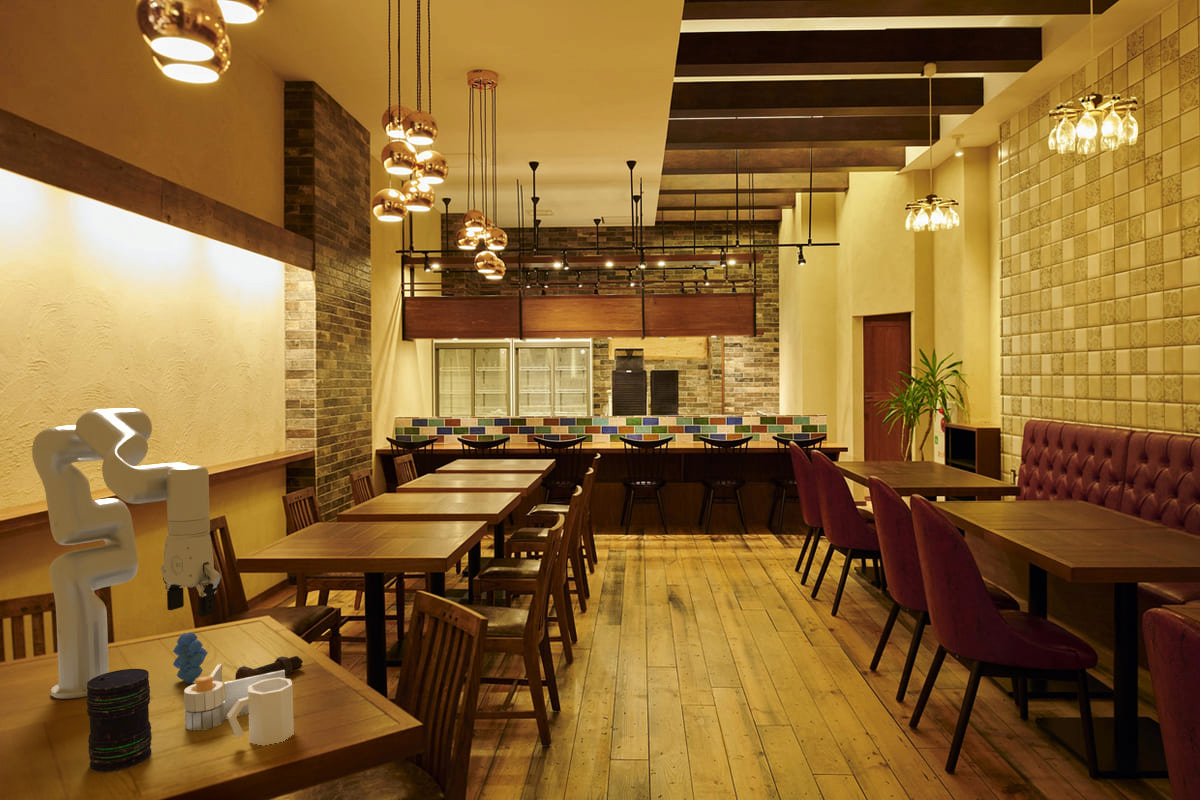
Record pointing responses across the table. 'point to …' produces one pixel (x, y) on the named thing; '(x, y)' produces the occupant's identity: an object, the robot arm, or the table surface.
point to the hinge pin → (204, 683)
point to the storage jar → (119, 720)
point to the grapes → (189, 657)
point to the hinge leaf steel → (226, 702)
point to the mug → (266, 711)
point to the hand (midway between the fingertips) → (191, 611)
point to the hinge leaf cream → (205, 694)
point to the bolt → (271, 667)
